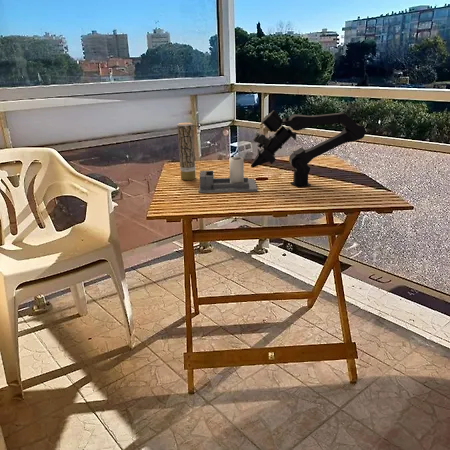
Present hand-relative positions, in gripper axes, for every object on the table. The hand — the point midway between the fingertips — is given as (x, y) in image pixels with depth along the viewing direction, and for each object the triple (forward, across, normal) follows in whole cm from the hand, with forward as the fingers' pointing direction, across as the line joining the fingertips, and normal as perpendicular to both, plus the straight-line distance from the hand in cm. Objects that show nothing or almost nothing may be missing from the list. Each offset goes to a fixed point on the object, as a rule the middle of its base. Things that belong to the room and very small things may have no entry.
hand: (251, 166), depth 167 cm
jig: (+13, 0, -1) cm, 13 cm away
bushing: (+10, 0, +1) cm, 10 cm away
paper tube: (+26, -14, -14) cm, 33 cm away
